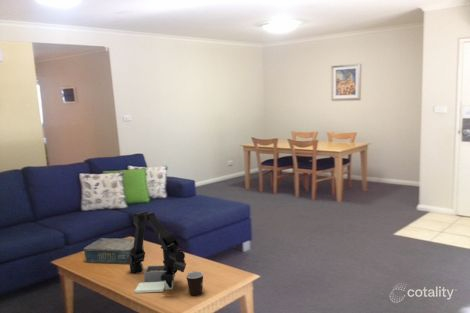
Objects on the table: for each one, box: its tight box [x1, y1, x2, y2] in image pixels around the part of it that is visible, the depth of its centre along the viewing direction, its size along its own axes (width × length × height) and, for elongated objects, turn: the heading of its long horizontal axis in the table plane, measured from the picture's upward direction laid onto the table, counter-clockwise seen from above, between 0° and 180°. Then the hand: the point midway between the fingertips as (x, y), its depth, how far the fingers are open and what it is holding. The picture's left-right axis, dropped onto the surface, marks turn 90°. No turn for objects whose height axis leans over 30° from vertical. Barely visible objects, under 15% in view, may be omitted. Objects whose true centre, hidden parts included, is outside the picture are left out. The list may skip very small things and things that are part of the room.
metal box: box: [83, 237, 145, 265], centre depth 276 cm, size 21×32×10 cm, turn 77°
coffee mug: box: [186, 270, 204, 297], centre depth 219 cm, size 12×9×10 cm
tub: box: [143, 264, 166, 283], centre depth 238 cm, size 14×9×6 cm, turn 87°
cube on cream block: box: [134, 280, 174, 294], centre depth 225 cm, size 19×10×4 cm, turn 87°
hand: (171, 285), depth 224 cm, fingers open, 4 cm apart
